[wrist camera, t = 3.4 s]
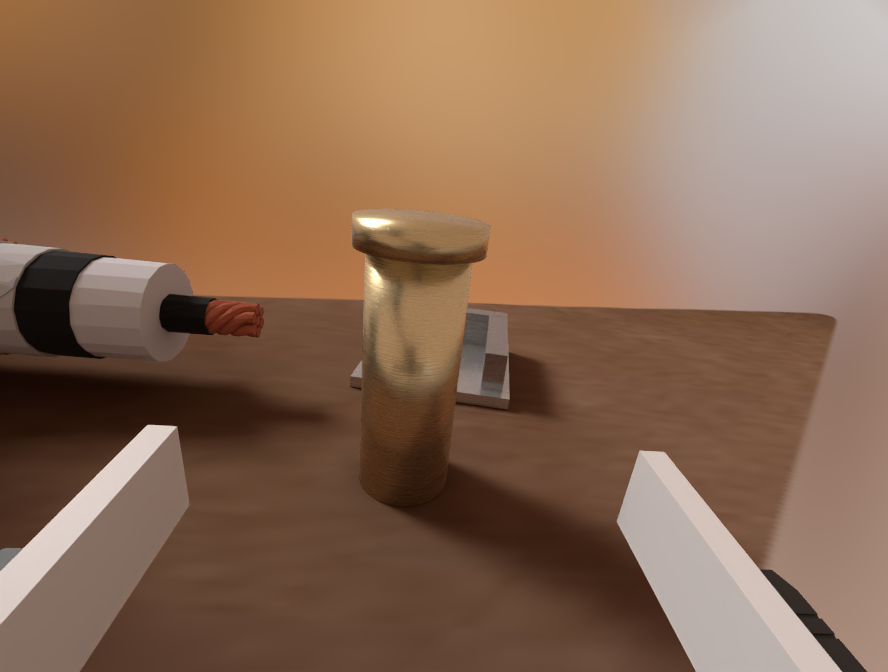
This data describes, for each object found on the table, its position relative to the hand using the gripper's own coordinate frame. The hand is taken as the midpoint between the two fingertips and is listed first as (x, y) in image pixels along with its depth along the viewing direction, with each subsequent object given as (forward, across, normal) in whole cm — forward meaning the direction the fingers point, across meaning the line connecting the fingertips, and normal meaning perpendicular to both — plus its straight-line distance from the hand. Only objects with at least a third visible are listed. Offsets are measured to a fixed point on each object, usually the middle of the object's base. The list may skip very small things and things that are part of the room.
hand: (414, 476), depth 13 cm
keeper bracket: (+21, +2, -7) cm, 22 cm away
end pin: (+8, 0, -7) cm, 11 cm away
